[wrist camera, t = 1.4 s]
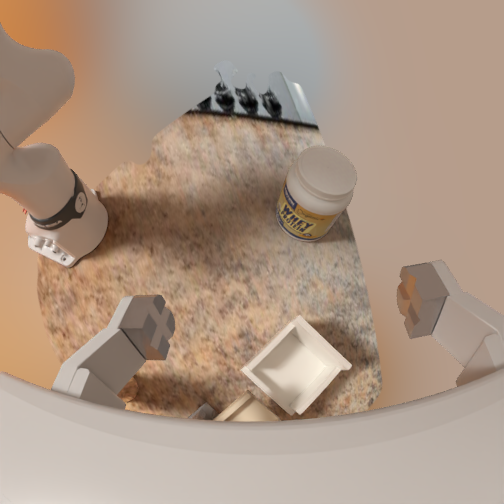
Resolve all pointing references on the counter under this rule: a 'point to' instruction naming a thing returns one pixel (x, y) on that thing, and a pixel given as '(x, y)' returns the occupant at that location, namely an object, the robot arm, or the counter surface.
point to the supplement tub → (315, 193)
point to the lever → (247, 410)
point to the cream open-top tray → (295, 366)
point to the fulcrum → (204, 413)
